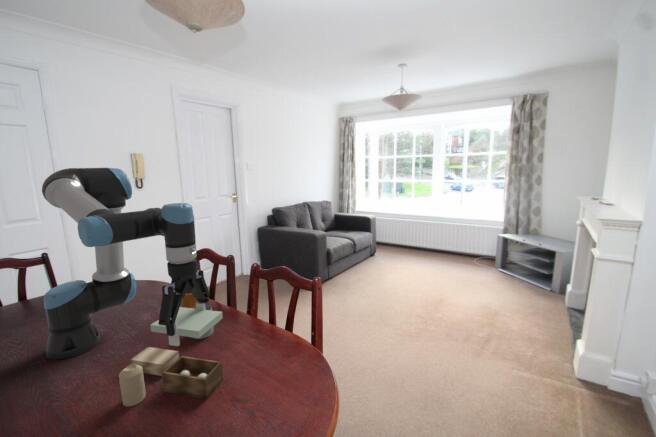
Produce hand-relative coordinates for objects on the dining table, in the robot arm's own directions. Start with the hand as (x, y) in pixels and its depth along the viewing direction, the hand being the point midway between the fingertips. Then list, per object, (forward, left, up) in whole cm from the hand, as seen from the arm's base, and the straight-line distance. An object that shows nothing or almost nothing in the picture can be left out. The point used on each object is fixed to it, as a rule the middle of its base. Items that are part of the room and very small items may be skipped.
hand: (189, 333), depth 86 cm
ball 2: (+3, 0, -14) cm, 14 cm away
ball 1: (-3, 0, -14) cm, 14 cm away
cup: (-16, +26, -17) cm, 35 cm away
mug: (-35, +44, -17) cm, 59 cm away
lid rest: (-18, +5, -17) cm, 25 cm away
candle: (-13, -8, -17) cm, 23 cm away
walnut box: (0, 0, -17) cm, 17 cm away
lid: (0, 0, +3) cm, 3 cm away
